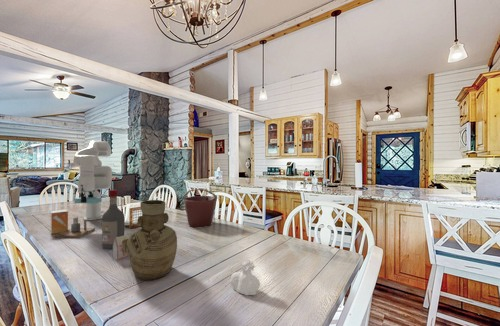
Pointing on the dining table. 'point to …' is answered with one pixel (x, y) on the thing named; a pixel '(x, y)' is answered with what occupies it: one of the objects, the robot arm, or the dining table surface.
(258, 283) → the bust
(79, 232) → the post base
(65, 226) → the small box
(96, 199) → the keyed plate
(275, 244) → the dining table surface
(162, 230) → the ceramic vessel
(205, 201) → the bucket
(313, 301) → the dining table surface
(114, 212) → the liquor
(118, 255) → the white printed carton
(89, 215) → the robot arm
